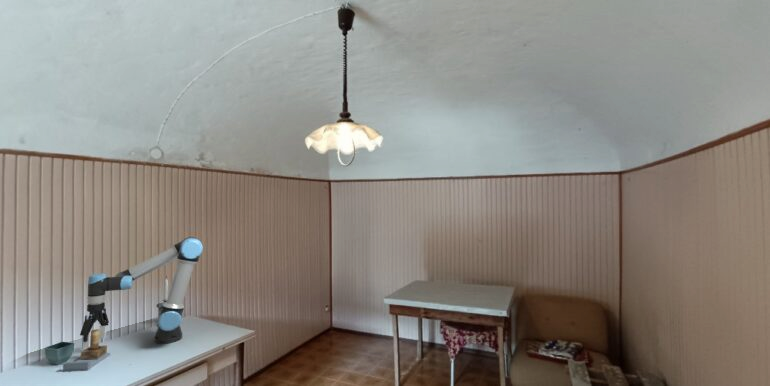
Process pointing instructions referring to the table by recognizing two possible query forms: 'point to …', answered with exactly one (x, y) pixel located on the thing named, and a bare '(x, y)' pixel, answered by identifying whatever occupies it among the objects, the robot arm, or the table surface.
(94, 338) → the dowel
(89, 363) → the board
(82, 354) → the block
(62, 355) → the flower pot
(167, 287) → the candlestick
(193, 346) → the table surface
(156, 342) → the robot arm
